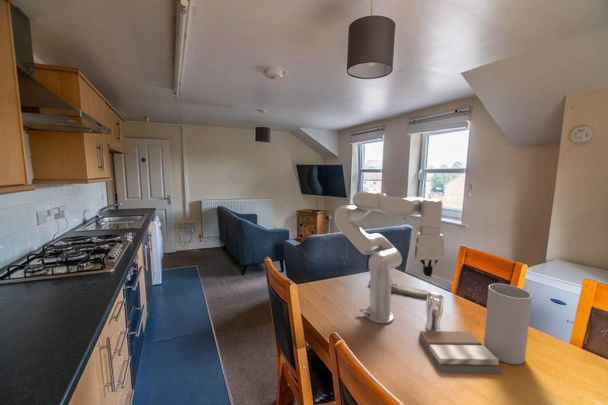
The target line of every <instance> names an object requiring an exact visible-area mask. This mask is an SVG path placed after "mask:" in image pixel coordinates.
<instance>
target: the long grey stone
mask: <svg viewBox="0 0 608 405" xmlns="http://www.w3.org/2000/svg"><path fill="white" fill-rule="evenodd" d="M368 284H369V285H370V280H369V282H368ZM391 293H395V294H398V293H399V294H402V295H406V296H411V297H414V298H418V299H425V300H426V296H427V293H431V292H430V291H428V290H426V289H422V288H421V289H420V288H417V287H412V286H407V285H403V284H401V283H400V284H399V283H398V282H395V281H391Z"/></svg>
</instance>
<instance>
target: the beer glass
mask: <svg viewBox="0 0 608 405" xmlns="http://www.w3.org/2000/svg"><path fill="white" fill-rule="evenodd" d="M443 312H444V296H443V295H441V294H440V293H437V292H430V293H427V296H426V299H425V313H426V323H425V329H427V330H426V331H442V329H441V328H442V327H441V319H442V316H443Z"/></svg>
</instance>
